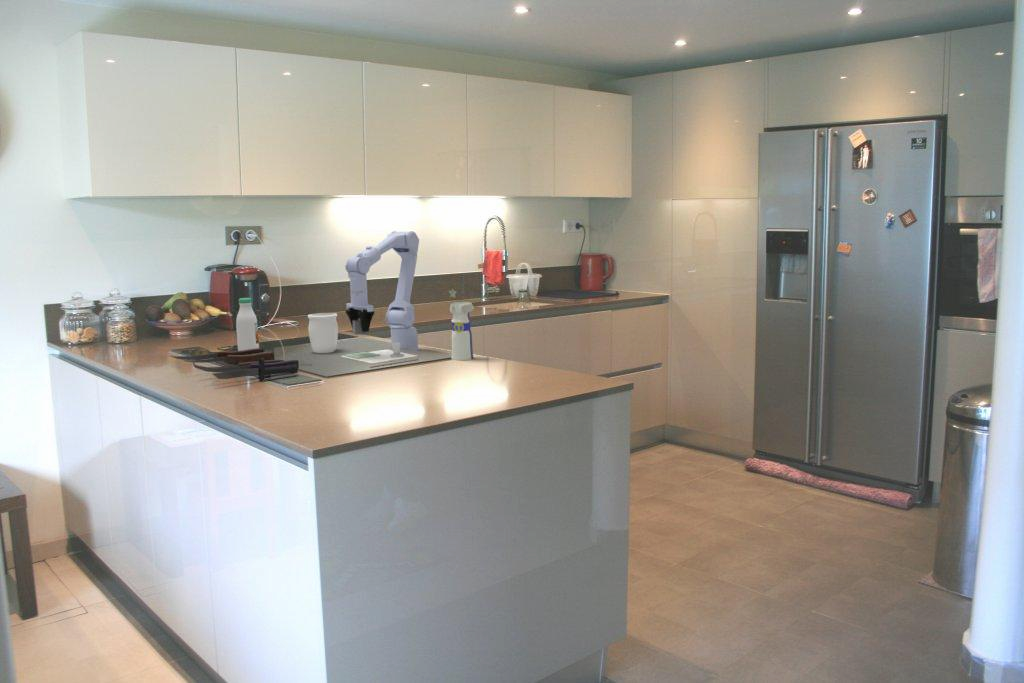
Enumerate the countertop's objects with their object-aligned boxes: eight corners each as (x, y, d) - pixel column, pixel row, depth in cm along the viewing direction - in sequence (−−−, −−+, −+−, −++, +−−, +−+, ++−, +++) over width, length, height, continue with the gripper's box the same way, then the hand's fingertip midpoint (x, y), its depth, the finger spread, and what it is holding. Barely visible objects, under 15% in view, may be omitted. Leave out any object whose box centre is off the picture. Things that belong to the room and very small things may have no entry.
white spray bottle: (471, 360, 286) (469, 288, 282) (447, 360, 288) (445, 288, 284) (477, 356, 294) (475, 286, 290) (454, 356, 296) (452, 286, 292)
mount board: (386, 353, 304) (385, 337, 303) (418, 360, 290) (417, 343, 289) (340, 360, 292) (340, 343, 291) (371, 367, 277) (370, 349, 276)
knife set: (168, 370, 274) (168, 346, 273) (264, 361, 295) (264, 340, 294) (207, 388, 247) (207, 363, 246) (309, 378, 268) (309, 354, 267)
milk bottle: (252, 352, 312) (249, 299, 309) (234, 352, 313) (230, 299, 310) (263, 349, 319) (259, 297, 316) (244, 348, 321) (240, 297, 318)
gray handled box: (352, 332, 292) (352, 318, 291) (366, 332, 293) (365, 317, 292) (355, 334, 287) (354, 319, 286) (368, 333, 289) (367, 319, 288)
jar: (303, 356, 301) (301, 315, 299) (322, 352, 310) (320, 312, 308) (326, 358, 296) (324, 316, 294) (345, 353, 305) (343, 313, 303)
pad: (366, 352, 298) (365, 351, 298) (379, 355, 291) (379, 354, 291) (343, 355, 292) (343, 354, 292) (357, 359, 285) (357, 357, 285)
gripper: (337, 291, 291) (339, 329, 293) (360, 294, 280) (361, 333, 282) (355, 289, 295) (357, 327, 297) (377, 292, 285) (379, 331, 287)
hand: (360, 330), depth 290 cm, fingers closed on gray handled box, 6 cm apart
